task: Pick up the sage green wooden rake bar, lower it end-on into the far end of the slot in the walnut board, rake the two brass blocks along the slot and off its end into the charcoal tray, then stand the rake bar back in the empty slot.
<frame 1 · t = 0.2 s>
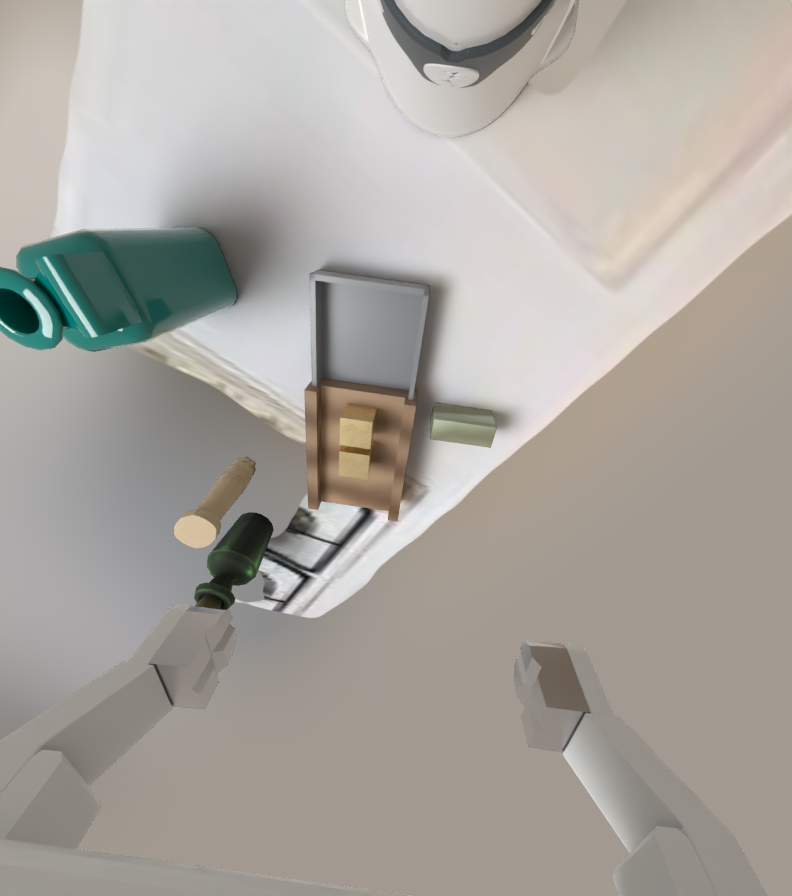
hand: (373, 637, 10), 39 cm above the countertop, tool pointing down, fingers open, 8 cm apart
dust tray: (370, 334, 43), on the countertop
handle: (248, 463, 57), on the countertop
brass block b: (359, 449, 49), point 3 cm above the countertop, touching slot board
potion bottle: (257, 523, 64), on the countertop
pitcher: (203, 272, 41), on the countertop
rake bar: (460, 415, 49), on the countertop
slot board: (362, 444, 52), on the countertop
brass block a: (361, 418, 47), point 3 cm above the countertop, touching slot board
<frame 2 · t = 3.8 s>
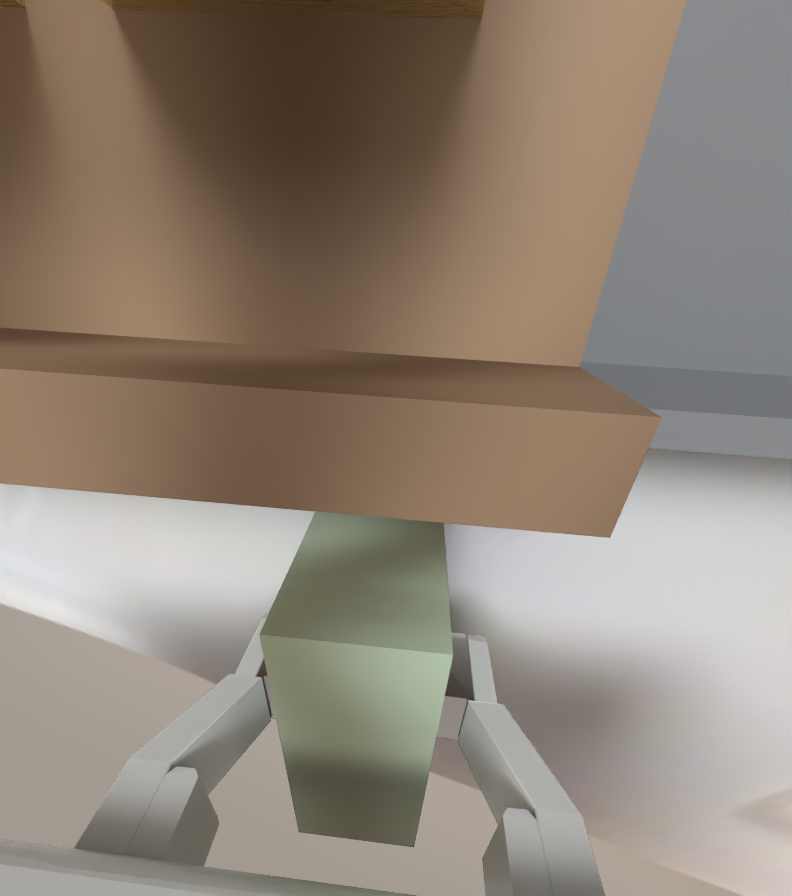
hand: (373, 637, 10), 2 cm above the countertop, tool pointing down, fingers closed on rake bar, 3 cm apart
rake bar: (382, 577, 12), on the countertop, touching gripper
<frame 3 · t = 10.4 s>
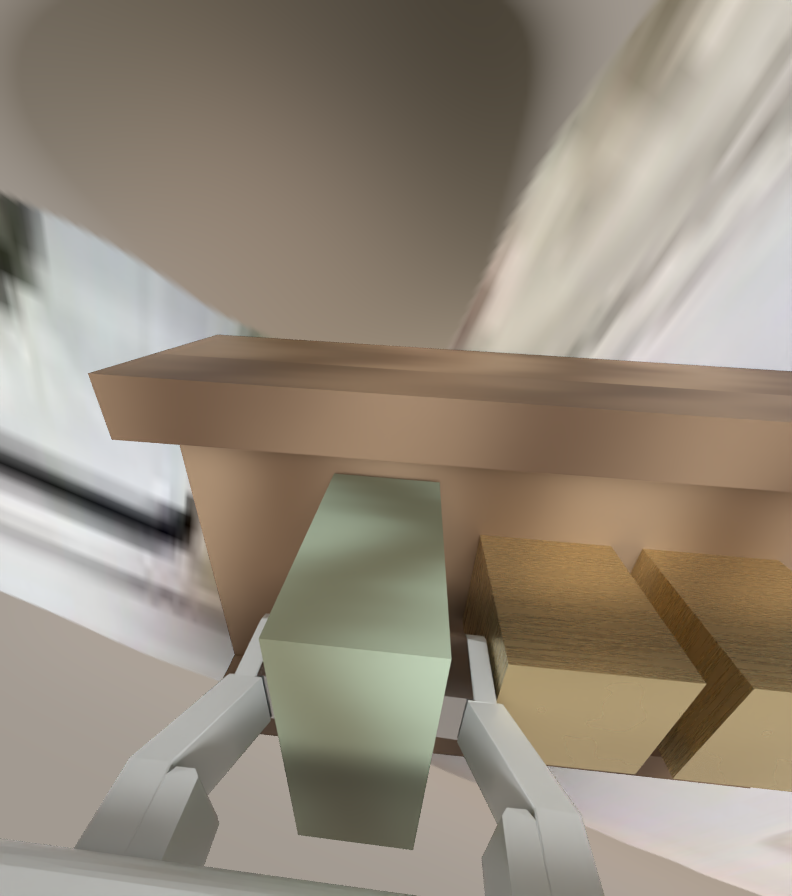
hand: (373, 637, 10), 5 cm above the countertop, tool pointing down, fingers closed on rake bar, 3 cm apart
brass block b: (530, 586, 12), point 3 cm above the countertop, touching gripper, slot board
rake bar: (381, 579, 12), point 3 cm above the countertop, touching gripper
slot board: (484, 525, 14), on the countertop
brass block a: (682, 599, 11), point 3 cm above the countertop, touching slot board
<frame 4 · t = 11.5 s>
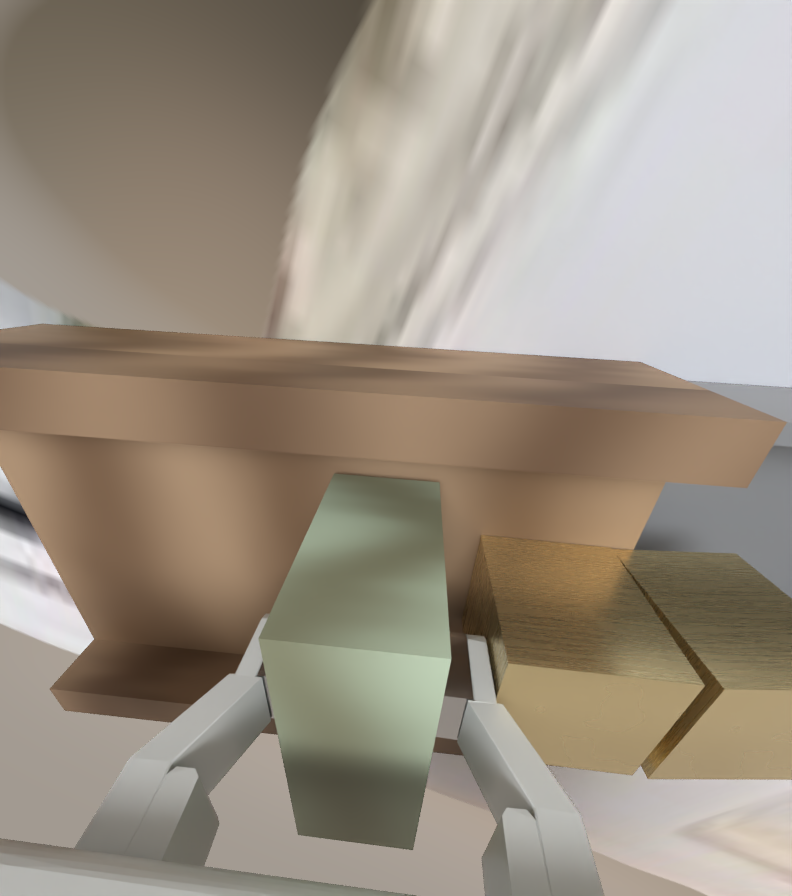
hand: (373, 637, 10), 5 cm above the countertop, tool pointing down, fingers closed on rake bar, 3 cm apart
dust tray: (741, 546, 14), on the countertop
brass block b: (530, 586, 12), point 3 cm above the countertop, touching brass block a, gripper
rake bar: (381, 579, 12), point 3 cm above the countertop, touching gripper
slot board: (336, 512, 15), on the countertop
brass block a: (648, 596, 12), point 3 cm above the countertop, tilted 5°, touching brass block b
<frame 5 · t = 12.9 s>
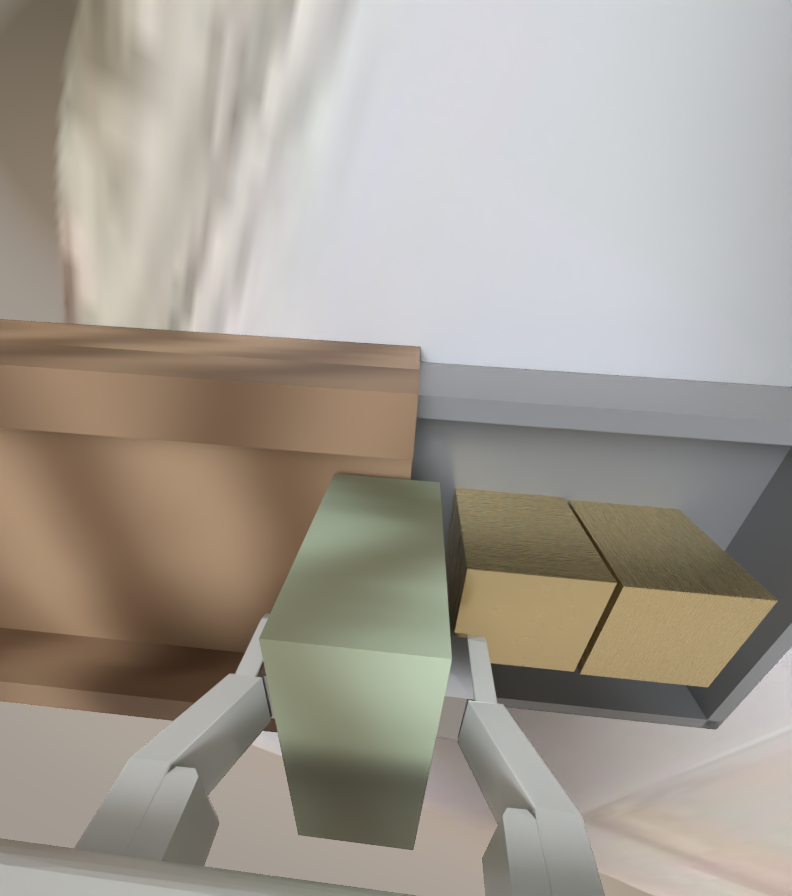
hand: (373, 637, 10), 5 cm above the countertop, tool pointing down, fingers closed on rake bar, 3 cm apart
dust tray: (563, 530, 14), on the countertop
brass block b: (498, 534, 14), point 1 cm above the countertop, touching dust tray
rake bar: (382, 579, 12), point 3 cm above the countertop, touching gripper
slot board: (175, 497, 15), on the countertop
brass block a: (573, 580, 12), point 3 cm above the countertop, tilted 90°, touching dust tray
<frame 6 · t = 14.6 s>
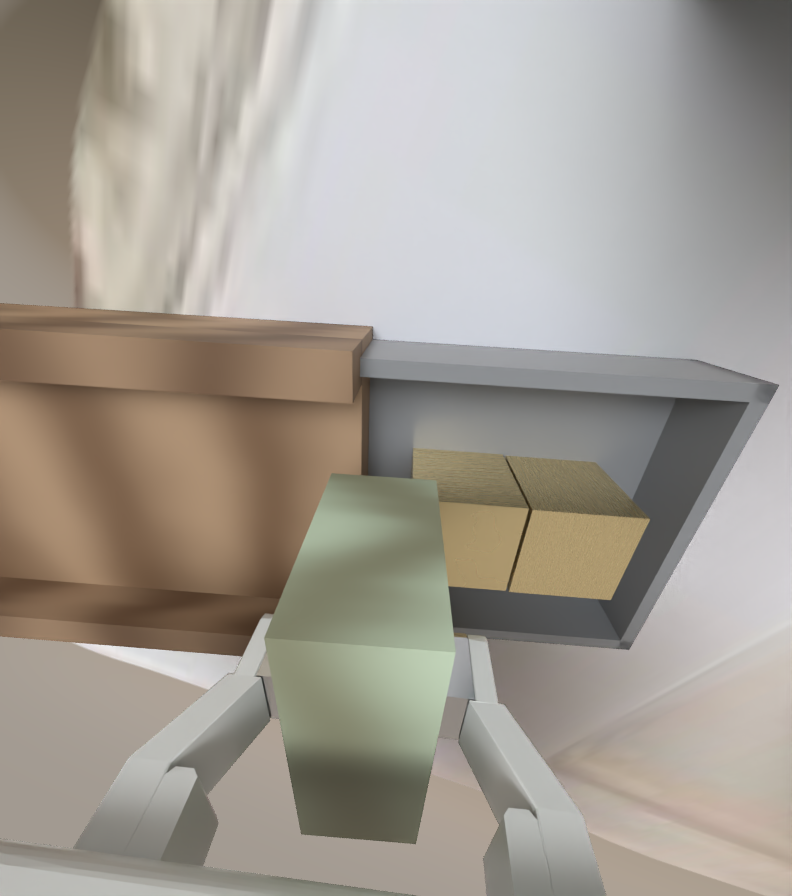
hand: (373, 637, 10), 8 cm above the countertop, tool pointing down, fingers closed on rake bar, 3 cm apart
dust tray: (502, 485, 17), on the countertop
brass block b: (452, 488, 16), point 1 cm above the countertop, touching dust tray
rake bar: (379, 577, 12), point 6 cm above the countertop, touching gripper
slot board: (169, 461, 17), on the countertop
brass block a: (507, 519, 15), point 3 cm above the countertop, tilted 90°, touching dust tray
when the fingers open (7 cm above the countertop, at t = 19.1 s): rake bar drops 1 cm, resting on slot board.
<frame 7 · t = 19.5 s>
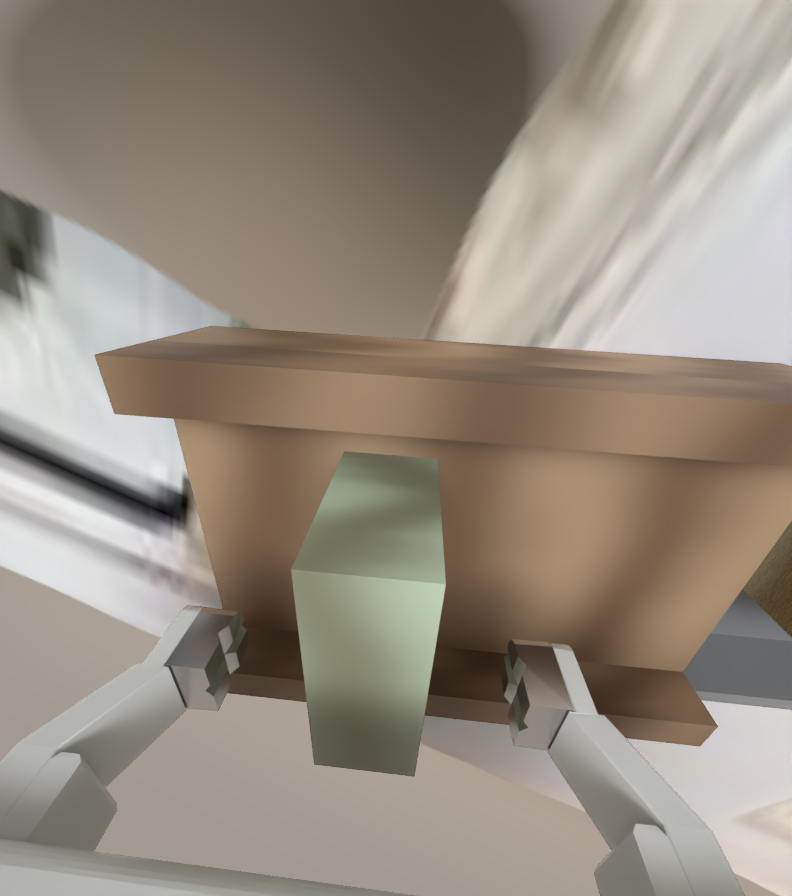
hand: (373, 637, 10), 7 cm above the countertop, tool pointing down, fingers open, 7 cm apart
rake bar: (385, 549, 13), point 3 cm above the countertop, touching slot board
slot board: (459, 505, 15), on the countertop
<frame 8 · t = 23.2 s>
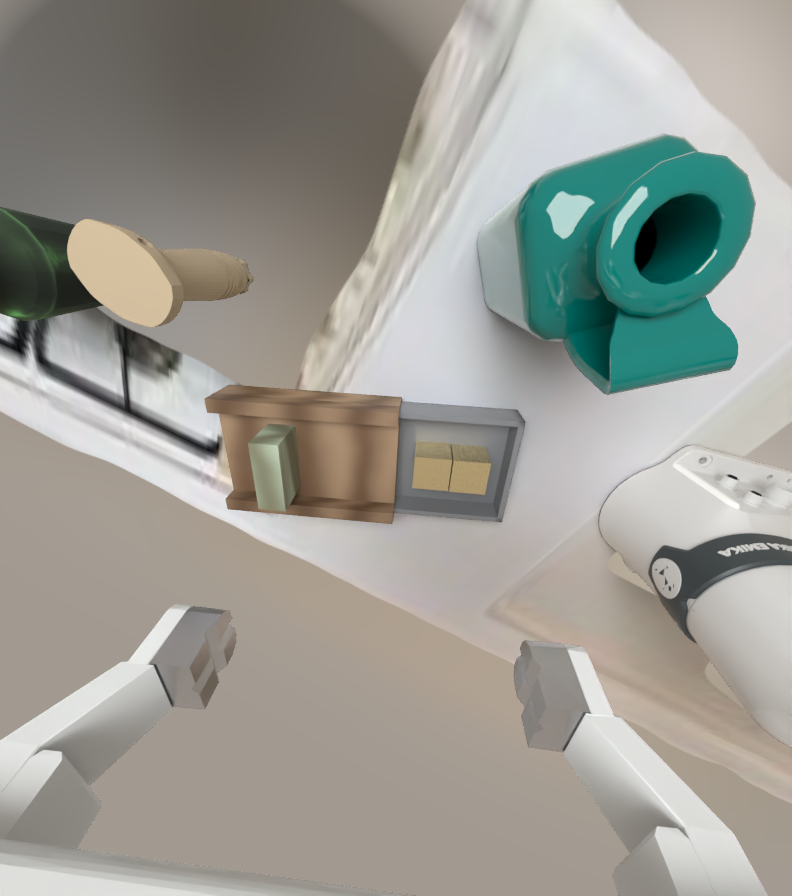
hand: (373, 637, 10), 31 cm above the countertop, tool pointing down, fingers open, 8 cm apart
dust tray: (451, 456, 42), on the countertop
handle: (239, 275, 35), on the countertop
brass block b: (431, 457, 41), point 1 cm above the countertop, touching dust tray
potion bottle: (106, 267, 35), on the countertop
pitcher: (526, 267, 33), on the countertop
rake bar: (285, 456, 40), point 3 cm above the countertop, touching slot board
slot board: (317, 445, 43), on the countertop
brass block a: (450, 467, 40), point 3 cm above the countertop, tilted 90°, touching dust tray
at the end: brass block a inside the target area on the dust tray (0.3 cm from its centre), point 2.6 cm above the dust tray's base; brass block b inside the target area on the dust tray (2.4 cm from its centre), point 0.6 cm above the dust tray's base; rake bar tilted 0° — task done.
